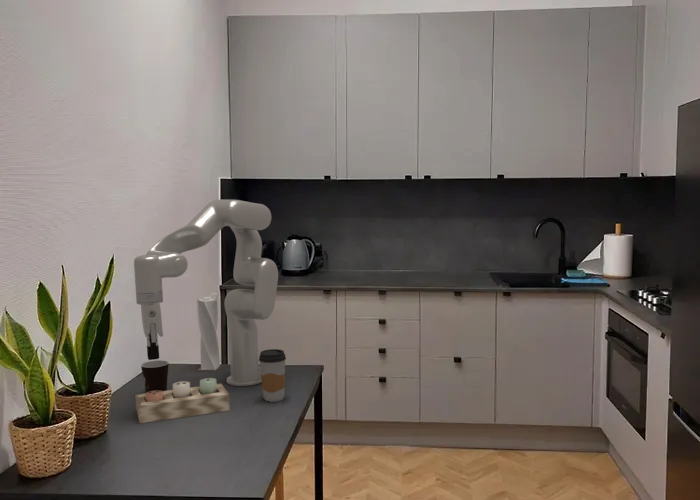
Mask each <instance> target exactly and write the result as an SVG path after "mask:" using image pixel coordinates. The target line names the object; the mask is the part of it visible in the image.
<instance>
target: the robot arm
mask: <svg viewBox="0 0 700 500" xmlns="http://www.w3.org/2000/svg"><path fill="white" fill-rule="evenodd" d="M271 221H272V213H271V210H270V208H268V206H266V205H265V204H263V203H257V202H256V203H255V202H250V201H245V200H240V199H214V200H212V201H210V202H208V203H207V204H206V205H205V206H204V207H203V208H202V209H201V210H200V211H199V212H198V213H197V214H196V215H195V216H194V217H193V219H191V220H190V221H189V222H188V223H187V224H186V225H184V226H183V227H180V228H179V229H176V230H174V231H173V232H171V233H169V234H167V235H166V236H164V237H162V238H161V239H160V240H158V241H157V242H156V243H155V244H154V245H153V246H152V247H150V248H149V250H148V251H147V253H146V254H143V255H137V256H136V257H135V258H134V260H133V270H134V284H135V300H136V301H135V302H136V304H137V305H140V310H141V321H142V323H141V325H142V328H143V334H144V336H145V338H146V343H147V344H146V354H147V360H148V361H155V360H159V359H160V350H159V349H160V347H159V340H158V339H159V338H158V336H160V337H161V338H162V337H163V336H164V333H163V332H164V331H163V319H162V310H161V304H162V303H163V302H164V294H163V293H164V292H163V279H164V278H177V277H180V276H182V275H184V274H185V272H186V271H187V269H188V260H187V258H186V257H185V255H184V254H183V253H186V252H188V251H193V250H196V249H197V250H198V249H199V248H202V247H204V246H206V245H207V244H209V242H211V240H212V239H213V238H214V237H215V236H217V234H218V233H219V232H220V231H221V230H222V229H223V228H224V227H229V228H230V229H231V231H232V232H233V233H234V236H235V240H236V249H235V256H234V264H233V271H232V273H233V280H234V282H236V283H237V284H240V285H242V286H252V287H254V289H248V288H235V289H232V290H230V291H229V292H228V293H227V294H226V296H225V298H224V311H225V314H226V317H227V318H226V319H227V324H228V336H229V337H228V339H229V342H228V343H229V358H230V359H229V360H230V375H229V376H228V377H227V378H226V384H228V385H230V386H234V387H235V386H236V387H247V386H255V385H258V384H262V380H261V368H260V361H259V356H260V355H259V337H258V336H259V335H258V334H259V333H258V326H257V324H256V321H255V320H259V321H261V320H262V321H264V320H267V319H268V318H270V317H271V315H272V313H273V312H274V308H275V305H276V304H275V303H276V296H277V289H278V283H279V282H278V281H279V271H278V266H277V265H276V263H275V262H274V260H272V259H270V258H267V257H262V251H263V249H262V248H263V242H262V237H261V235H260V234H259V231H263V230H265V229H267V228H268V227H269V226H270V224H271Z"/></svg>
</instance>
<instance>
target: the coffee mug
mask: <svg viewBox="0 0 700 500" xmlns="http://www.w3.org/2000/svg"><path fill="white" fill-rule="evenodd" d="M140 366H141V373H142V378H143V383H144V389H145V393H147V392H149V391H156V390H158V391H168V381H169V380H168V377H169V361H168V360H162V359H161V360H159V359H155V360H148V361H146V362H143V363H141V364H140Z"/></svg>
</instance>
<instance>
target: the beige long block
mask: <svg viewBox="0 0 700 500" xmlns="http://www.w3.org/2000/svg"><path fill="white" fill-rule="evenodd" d="M162 392H163V400H158V401H150V402H146V395H145V394H146V392H145V393H138V394H135V395H134V396H135V410H136V414H137V417H138V418H137V419H138V422H139V424H144V423H153V422H156V421H157V422H158V421H166V420H172V419H179V418H187V417H193V416H200V415H201V416H202V415H206V414H207V415H208V414H215V413H221V412H229V411H230V394H229V392H228V391H227V390H226V388H225V387H224V385H223V384H222V383H217V393H211V394H203V395H201V394H200V385H198V386H193V387H191V386H190V396H188V397H180V398H173V389H170V390H168V389H167V391H162Z"/></svg>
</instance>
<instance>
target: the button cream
mask: <svg viewBox="0 0 700 500" xmlns="http://www.w3.org/2000/svg"><path fill="white" fill-rule="evenodd" d="M190 388H191V382H189V381H185V380H184V381H182V380H181V381H177V382H174V383H172V390H173V398H180V397H188V396H190Z"/></svg>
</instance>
